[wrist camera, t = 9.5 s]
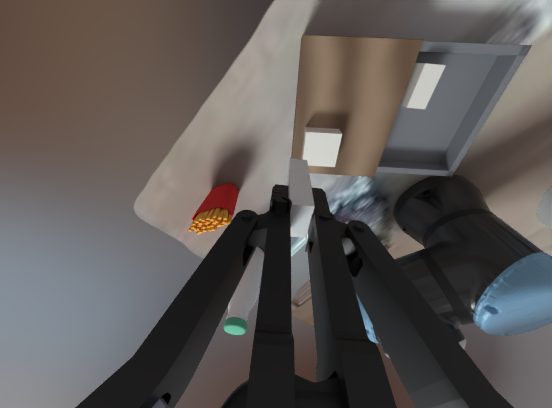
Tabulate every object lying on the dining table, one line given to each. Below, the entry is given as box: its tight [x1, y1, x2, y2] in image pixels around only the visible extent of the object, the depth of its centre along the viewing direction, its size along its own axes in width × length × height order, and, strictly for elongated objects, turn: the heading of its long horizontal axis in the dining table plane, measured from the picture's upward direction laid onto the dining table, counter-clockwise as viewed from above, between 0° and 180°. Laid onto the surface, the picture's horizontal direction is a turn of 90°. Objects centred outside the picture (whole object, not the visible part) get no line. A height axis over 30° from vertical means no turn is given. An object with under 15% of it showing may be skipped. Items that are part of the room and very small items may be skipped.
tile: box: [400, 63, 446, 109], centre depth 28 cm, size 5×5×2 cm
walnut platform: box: [291, 35, 423, 177], centre depth 32 cm, size 14×18×6 cm
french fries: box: [188, 183, 239, 234], centre depth 40 cm, size 8×4×12 cm, turn 111°
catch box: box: [376, 41, 532, 176], centre depth 32 cm, size 14×18×4 cm
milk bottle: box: [224, 247, 264, 335], centre depth 49 cm, size 8×8×20 cm
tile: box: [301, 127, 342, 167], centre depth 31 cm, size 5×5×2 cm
